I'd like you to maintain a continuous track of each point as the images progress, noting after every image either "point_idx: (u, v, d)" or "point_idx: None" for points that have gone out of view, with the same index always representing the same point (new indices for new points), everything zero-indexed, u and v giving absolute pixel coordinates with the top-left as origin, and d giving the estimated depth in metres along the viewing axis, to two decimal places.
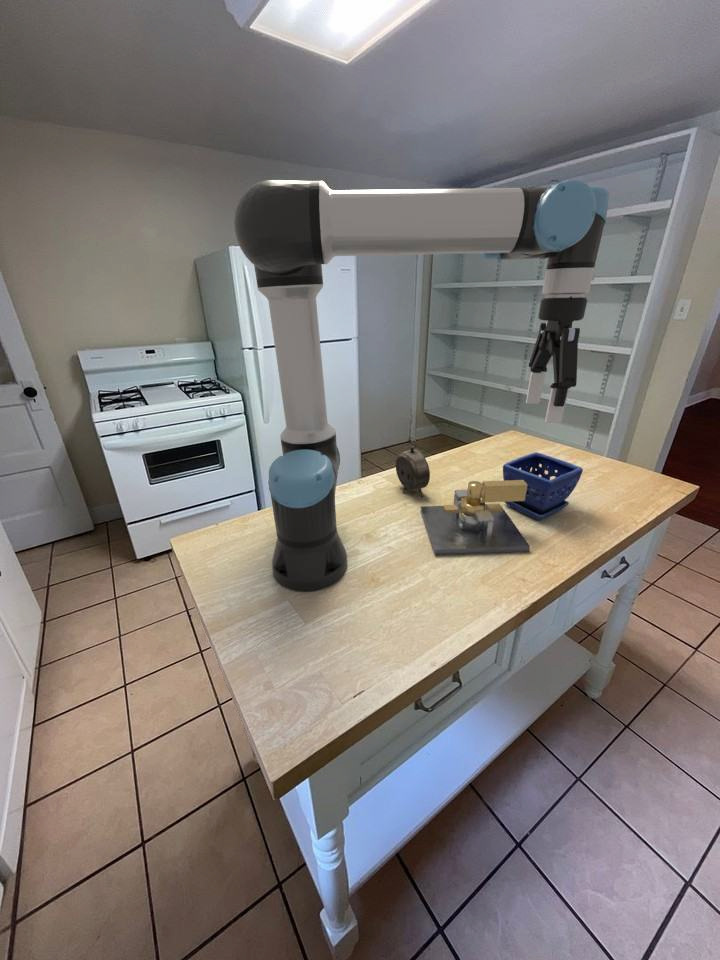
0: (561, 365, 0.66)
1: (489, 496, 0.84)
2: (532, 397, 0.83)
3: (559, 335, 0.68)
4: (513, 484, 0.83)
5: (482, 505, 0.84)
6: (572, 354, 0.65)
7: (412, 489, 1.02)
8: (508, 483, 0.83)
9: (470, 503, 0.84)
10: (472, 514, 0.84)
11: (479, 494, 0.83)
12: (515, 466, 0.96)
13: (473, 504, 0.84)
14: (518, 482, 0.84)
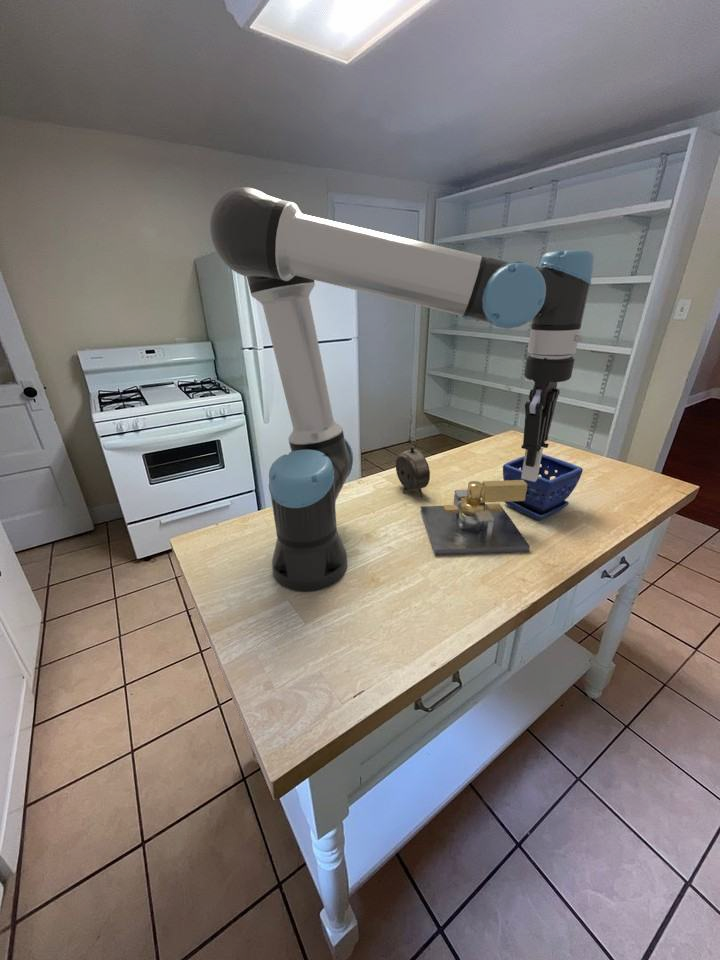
0: None
1: (489, 496, 0.84)
2: None
3: (532, 397, 0.67)
4: (513, 484, 0.83)
5: (482, 505, 0.84)
6: (533, 426, 0.67)
7: (412, 489, 1.02)
8: (508, 483, 0.83)
9: (470, 503, 0.84)
10: (472, 514, 0.84)
11: (479, 494, 0.83)
12: (515, 466, 0.96)
13: (473, 504, 0.84)
14: (518, 482, 0.84)
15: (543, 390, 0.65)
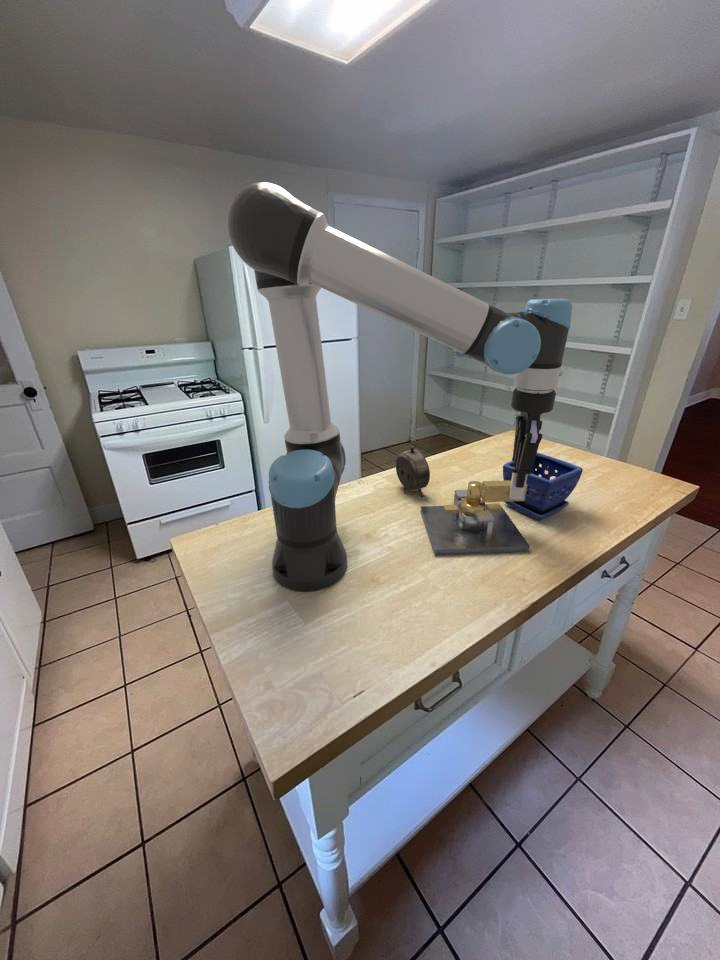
0: (521, 459, 0.75)
1: (489, 496, 0.84)
2: None
3: (527, 428, 0.72)
4: None
5: (482, 505, 0.84)
6: (532, 453, 0.73)
7: (412, 489, 1.02)
8: (508, 483, 0.83)
9: (470, 503, 0.84)
10: (472, 514, 0.84)
11: (479, 494, 0.83)
12: None
13: (473, 504, 0.84)
14: None
15: (538, 421, 0.71)
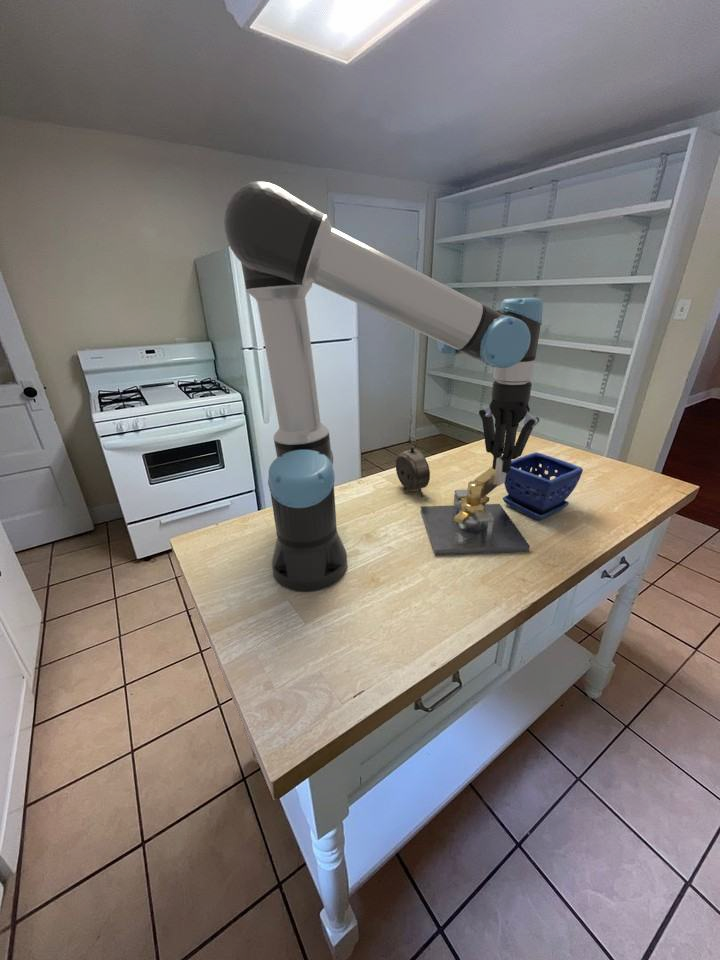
0: (519, 445, 0.81)
1: (485, 491, 0.86)
2: None
3: (521, 416, 0.79)
4: (494, 472, 0.88)
5: (482, 501, 0.86)
6: (527, 437, 0.81)
7: (412, 489, 1.02)
8: (490, 473, 0.88)
9: (476, 504, 0.84)
10: None
11: (481, 492, 0.84)
12: (515, 466, 0.96)
13: (478, 503, 0.84)
14: (493, 469, 0.90)
15: None
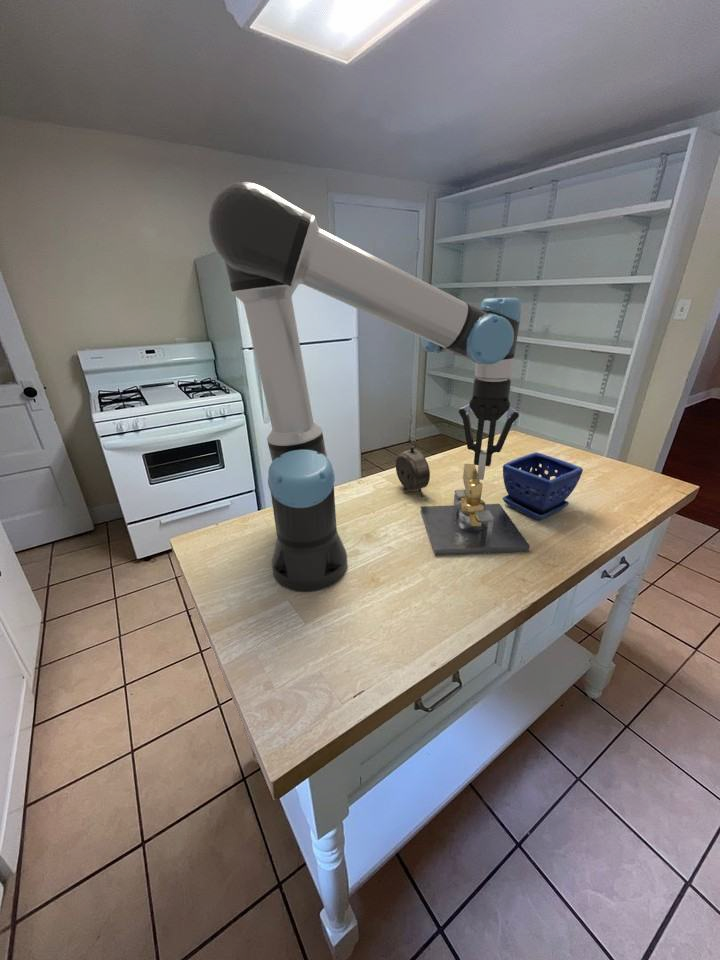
0: (504, 438, 0.85)
1: None
2: None
3: (505, 410, 0.83)
4: (474, 468, 0.91)
5: None
6: None
7: (412, 489, 1.02)
8: (471, 470, 0.90)
9: (479, 503, 0.84)
10: None
11: None
12: (515, 466, 0.96)
13: (480, 502, 0.85)
14: (469, 466, 0.92)
15: None
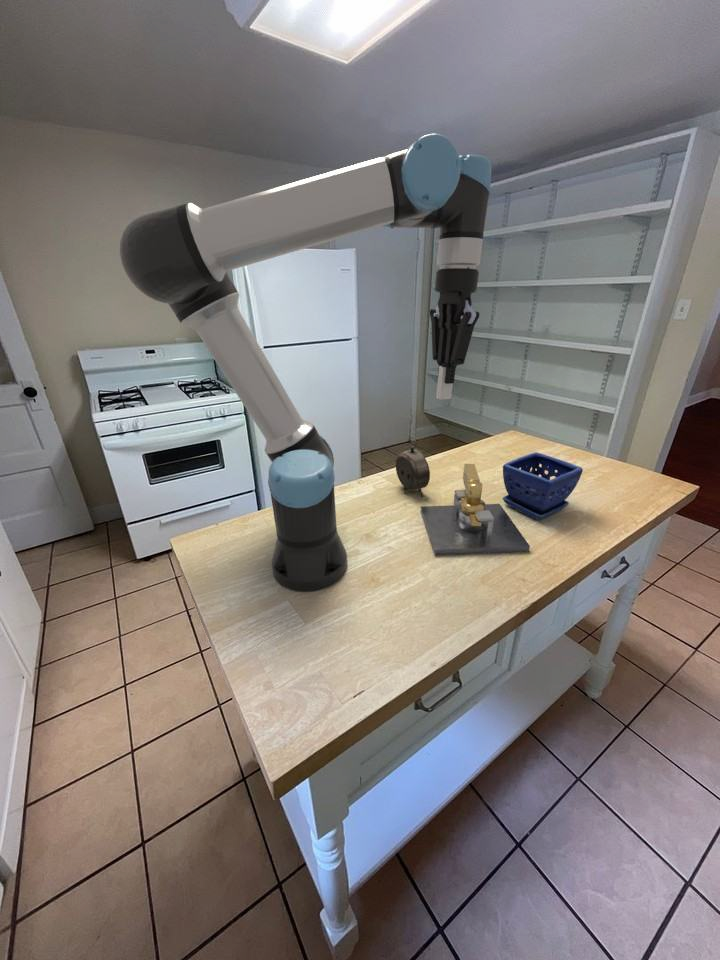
0: (456, 346, 0.71)
1: None
2: None
3: (460, 309, 0.68)
4: (474, 468, 0.91)
5: None
6: (467, 337, 0.70)
7: (412, 489, 1.02)
8: (471, 470, 0.90)
9: (479, 503, 0.84)
10: None
11: None
12: (515, 466, 0.96)
13: (480, 502, 0.85)
14: (469, 466, 0.92)
15: (470, 300, 0.68)
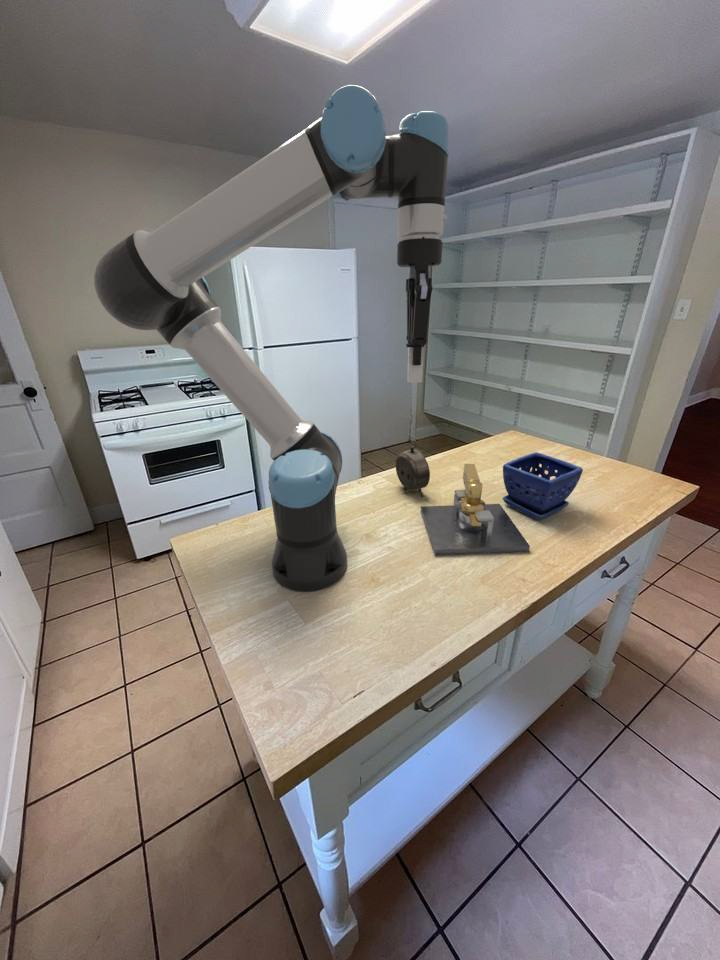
0: (413, 324, 0.66)
1: None
2: None
3: (416, 283, 0.64)
4: (474, 468, 0.91)
5: None
6: (424, 314, 0.65)
7: (412, 489, 1.02)
8: (471, 470, 0.90)
9: (479, 503, 0.84)
10: None
11: None
12: (515, 466, 0.96)
13: (480, 502, 0.85)
14: (469, 466, 0.92)
15: (427, 272, 0.63)
